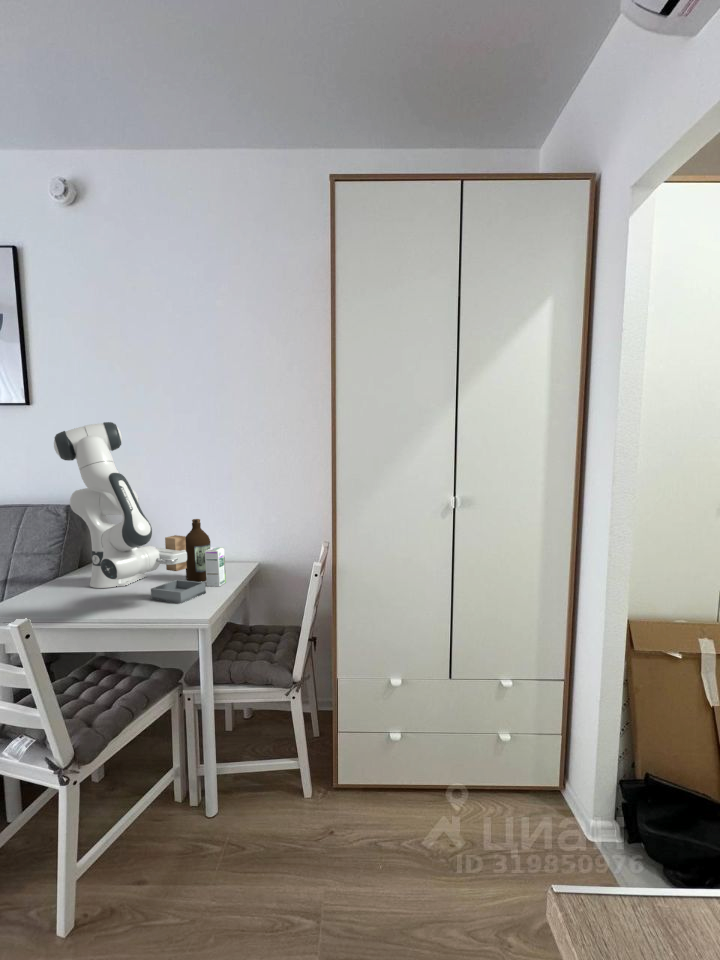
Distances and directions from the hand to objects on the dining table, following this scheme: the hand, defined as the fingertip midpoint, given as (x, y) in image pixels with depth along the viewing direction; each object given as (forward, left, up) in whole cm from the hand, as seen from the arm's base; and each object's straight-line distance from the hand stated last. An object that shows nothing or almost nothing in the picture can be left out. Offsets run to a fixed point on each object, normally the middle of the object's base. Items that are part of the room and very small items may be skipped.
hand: (177, 551), depth 204 cm
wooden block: (+1, 0, -7) cm, 7 cm away
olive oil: (-22, -9, -17) cm, 29 cm away
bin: (0, 0, -17) cm, 17 cm away
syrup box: (-18, +3, -17) cm, 25 cm away
